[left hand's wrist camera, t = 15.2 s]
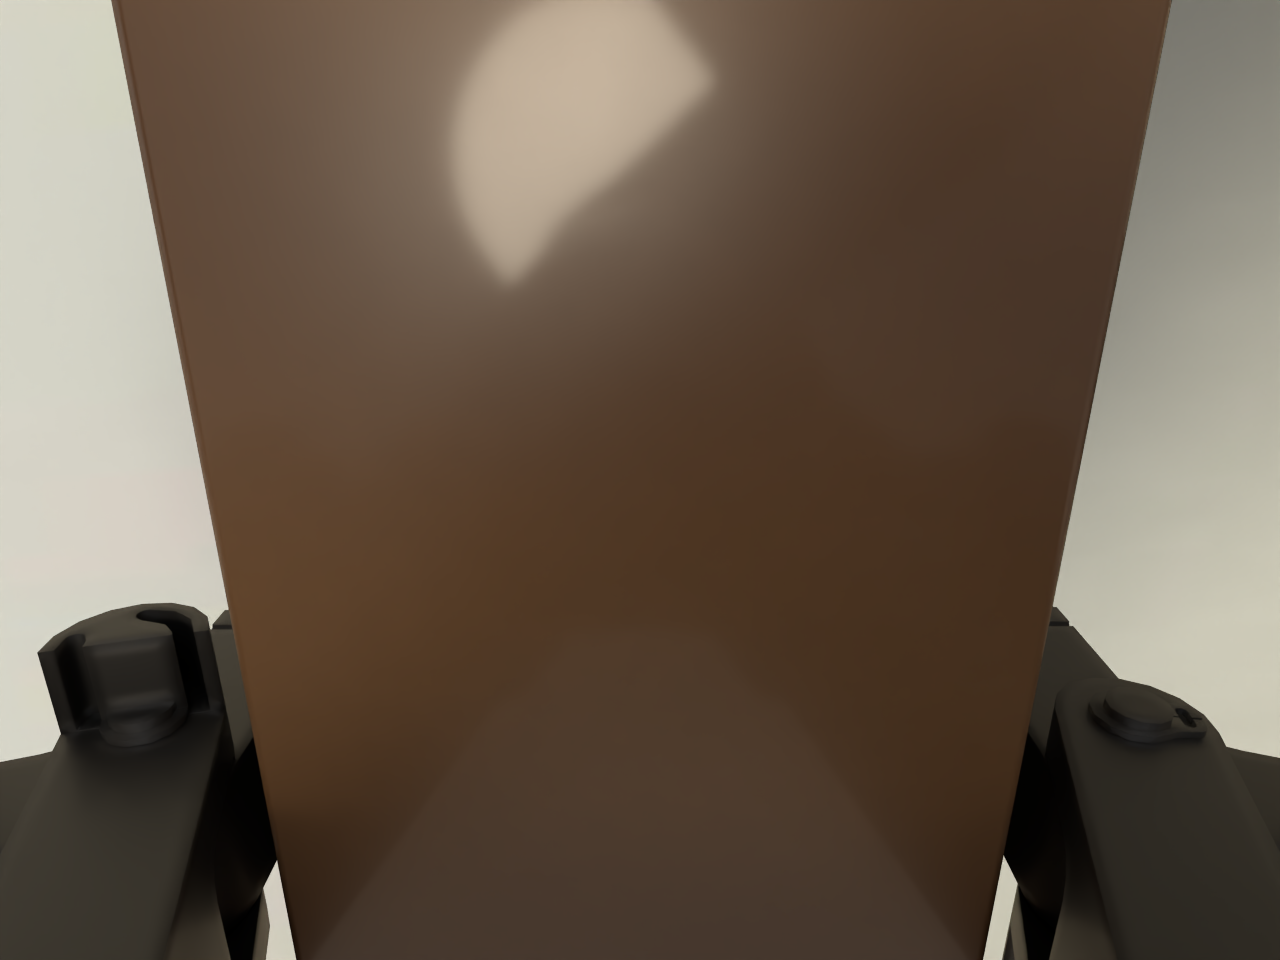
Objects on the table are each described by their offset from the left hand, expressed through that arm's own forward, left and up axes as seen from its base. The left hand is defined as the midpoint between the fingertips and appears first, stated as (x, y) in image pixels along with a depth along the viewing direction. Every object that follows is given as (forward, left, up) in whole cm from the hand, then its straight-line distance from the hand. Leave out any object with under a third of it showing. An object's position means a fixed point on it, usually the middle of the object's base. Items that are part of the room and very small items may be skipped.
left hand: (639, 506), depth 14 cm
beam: (+17, +18, -1) cm, 25 cm away
